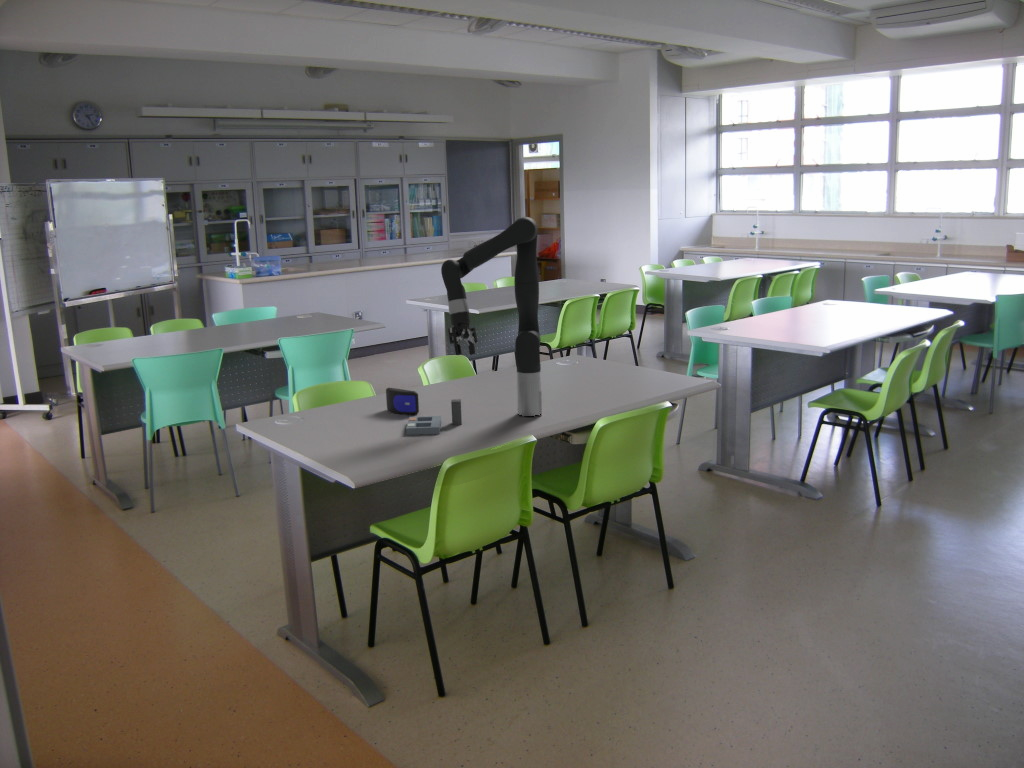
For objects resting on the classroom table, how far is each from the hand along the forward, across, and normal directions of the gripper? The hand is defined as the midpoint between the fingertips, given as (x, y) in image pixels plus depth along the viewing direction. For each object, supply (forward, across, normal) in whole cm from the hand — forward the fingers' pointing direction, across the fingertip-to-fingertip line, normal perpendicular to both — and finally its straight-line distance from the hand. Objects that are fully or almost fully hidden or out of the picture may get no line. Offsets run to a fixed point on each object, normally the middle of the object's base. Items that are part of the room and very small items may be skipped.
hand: (465, 354), depth 317 cm
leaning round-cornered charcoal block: (+17, 0, +35) cm, 39 cm away
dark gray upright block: (+25, -4, +6) cm, 26 cm away
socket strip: (+25, -14, +13) cm, 32 cm away
